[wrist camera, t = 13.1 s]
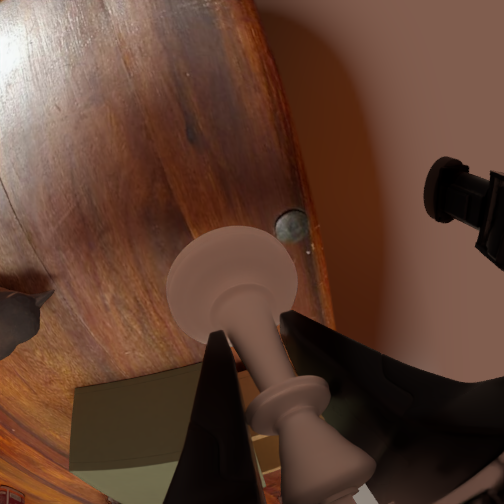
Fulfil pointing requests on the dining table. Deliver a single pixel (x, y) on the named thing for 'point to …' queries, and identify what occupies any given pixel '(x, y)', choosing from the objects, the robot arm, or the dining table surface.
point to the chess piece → (266, 356)
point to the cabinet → (133, 434)
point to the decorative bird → (19, 318)
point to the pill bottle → (10, 496)
